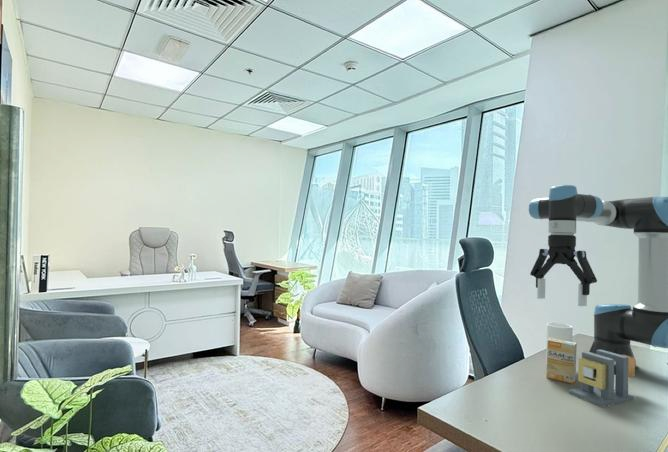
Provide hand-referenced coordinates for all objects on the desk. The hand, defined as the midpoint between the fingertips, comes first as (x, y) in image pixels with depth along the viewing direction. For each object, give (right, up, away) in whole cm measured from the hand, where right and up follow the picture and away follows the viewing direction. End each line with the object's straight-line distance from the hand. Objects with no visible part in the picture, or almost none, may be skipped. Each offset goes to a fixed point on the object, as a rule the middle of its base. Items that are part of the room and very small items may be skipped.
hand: (560, 302), depth 118 cm
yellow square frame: (+7, -21, -5) cm, 22 cm away
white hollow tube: (+12, -29, +22) cm, 38 cm away
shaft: (+14, -24, -1) cm, 27 cm away
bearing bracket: (+11, -28, -3) cm, 30 cm away
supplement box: (+6, -29, +10) cm, 31 cm away
